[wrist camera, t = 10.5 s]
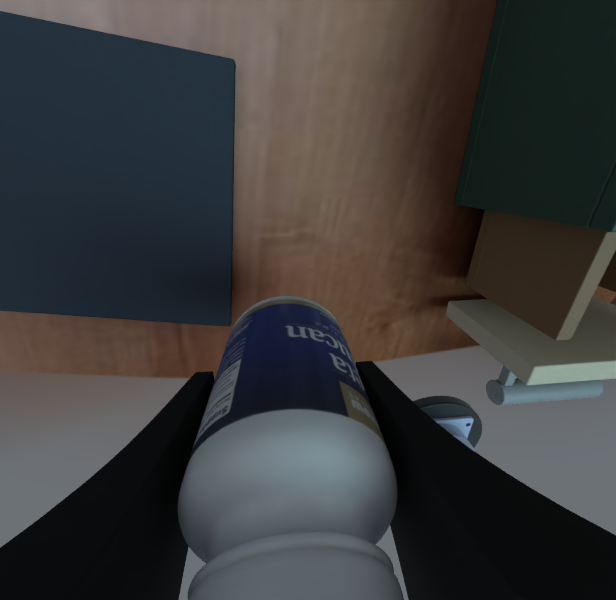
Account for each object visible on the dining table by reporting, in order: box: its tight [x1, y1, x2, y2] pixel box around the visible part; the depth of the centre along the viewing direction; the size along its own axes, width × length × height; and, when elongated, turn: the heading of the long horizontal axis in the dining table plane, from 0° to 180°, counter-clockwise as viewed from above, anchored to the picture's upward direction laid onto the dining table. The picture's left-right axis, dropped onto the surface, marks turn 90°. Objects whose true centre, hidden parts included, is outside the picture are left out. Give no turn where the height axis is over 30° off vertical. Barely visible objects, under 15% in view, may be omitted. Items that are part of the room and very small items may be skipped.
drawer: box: [446, 210, 616, 405], centre depth 15 cm, size 17×11×7 cm, turn 1°
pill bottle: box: [178, 296, 404, 600], centre depth 8 cm, size 5×5×10 cm
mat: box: [0, 11, 235, 326], centre depth 14 cm, size 15×24×1 cm, turn 82°
